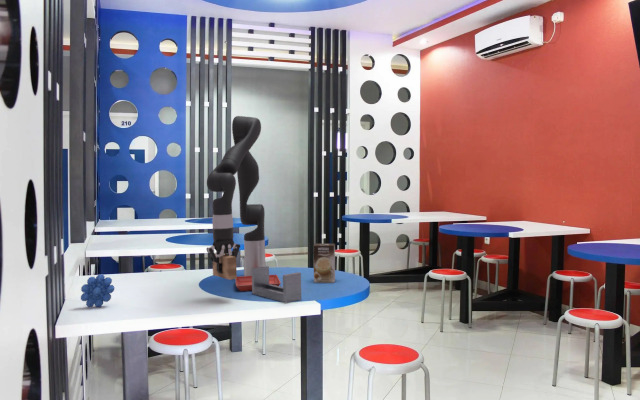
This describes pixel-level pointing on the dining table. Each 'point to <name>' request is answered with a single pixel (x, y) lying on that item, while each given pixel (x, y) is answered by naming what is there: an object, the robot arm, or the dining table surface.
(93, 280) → the blue knobby flower
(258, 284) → the grey desk caddy
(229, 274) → the door panel
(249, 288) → the plant saucer
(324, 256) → the coffee box
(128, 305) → the dining table surface
